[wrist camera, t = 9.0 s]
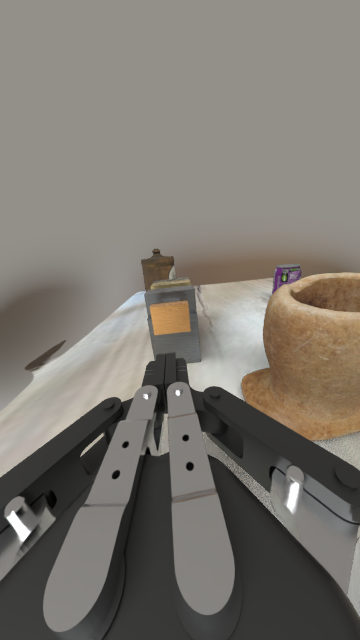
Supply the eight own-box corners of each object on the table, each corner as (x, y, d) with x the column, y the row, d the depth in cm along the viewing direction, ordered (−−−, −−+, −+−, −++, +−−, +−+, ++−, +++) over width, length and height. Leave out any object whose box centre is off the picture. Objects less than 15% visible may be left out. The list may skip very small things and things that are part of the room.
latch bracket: (200, 361, 31) (195, 288, 26) (155, 366, 31) (142, 294, 27) (192, 328, 45) (187, 277, 41) (161, 331, 46) (154, 281, 41)
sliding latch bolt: (190, 331, 24) (188, 303, 23) (154, 335, 24) (149, 307, 23) (184, 300, 40) (182, 283, 39) (162, 303, 40) (160, 285, 39)
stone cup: (288, 486, 14) (321, 304, 9) (231, 384, 25) (230, 278, 20) (458, 451, 15) (578, 268, 10) (330, 368, 26) (354, 263, 21)
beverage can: (286, 308, 52) (291, 266, 47) (266, 304, 58) (269, 266, 54) (302, 304, 54) (308, 263, 50) (281, 300, 60) (284, 263, 56)
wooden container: (182, 297, 80) (176, 245, 72) (150, 303, 76) (140, 249, 68) (172, 292, 93) (167, 248, 86) (145, 297, 89) (137, 251, 82)
